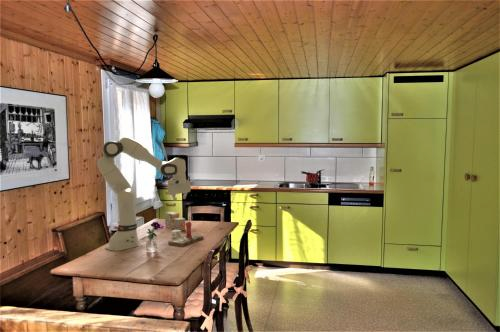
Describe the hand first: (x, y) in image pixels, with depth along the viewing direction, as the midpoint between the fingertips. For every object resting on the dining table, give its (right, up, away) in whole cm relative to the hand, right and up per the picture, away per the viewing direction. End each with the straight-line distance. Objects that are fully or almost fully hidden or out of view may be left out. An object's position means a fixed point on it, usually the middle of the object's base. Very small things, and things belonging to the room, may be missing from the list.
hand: (179, 199), depth 280 cm
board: (+6, -29, -7) cm, 30 cm away
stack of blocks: (-9, -26, +32) cm, 42 cm away
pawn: (+7, -26, -5) cm, 28 cm away
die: (-3, -28, +5) cm, 28 cm away
